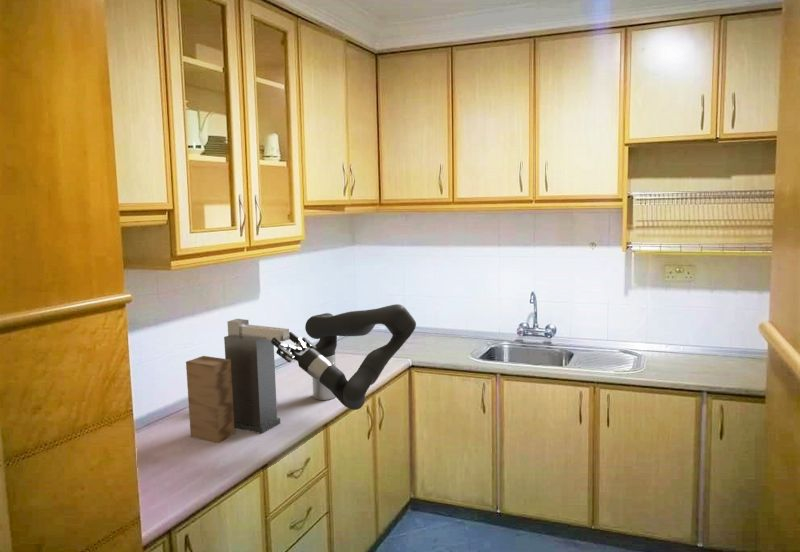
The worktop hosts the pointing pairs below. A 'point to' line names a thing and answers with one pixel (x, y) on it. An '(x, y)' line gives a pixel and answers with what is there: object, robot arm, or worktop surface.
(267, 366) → the tall dark grey pillar
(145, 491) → the worktop surface
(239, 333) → the lever
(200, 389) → the block
